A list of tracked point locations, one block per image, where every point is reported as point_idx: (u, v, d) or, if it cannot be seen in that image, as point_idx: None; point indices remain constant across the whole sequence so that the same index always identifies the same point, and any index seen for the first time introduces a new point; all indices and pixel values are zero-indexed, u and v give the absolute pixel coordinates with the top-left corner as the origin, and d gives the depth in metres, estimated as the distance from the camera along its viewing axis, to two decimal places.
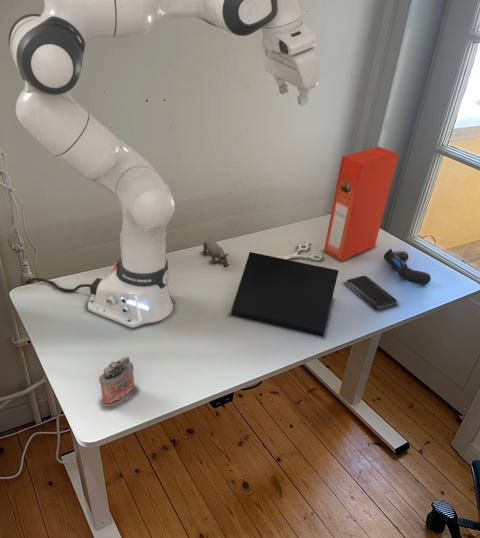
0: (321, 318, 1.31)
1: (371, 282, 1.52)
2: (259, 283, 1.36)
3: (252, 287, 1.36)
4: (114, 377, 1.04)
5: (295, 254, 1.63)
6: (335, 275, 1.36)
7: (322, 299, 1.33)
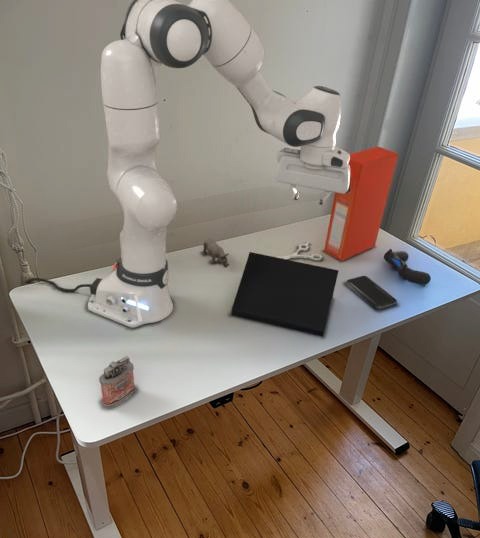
0: (321, 318, 1.31)
1: (371, 282, 1.52)
2: (259, 283, 1.36)
3: (252, 287, 1.36)
4: (114, 377, 1.04)
5: (295, 254, 1.63)
6: (335, 275, 1.36)
7: (322, 299, 1.33)
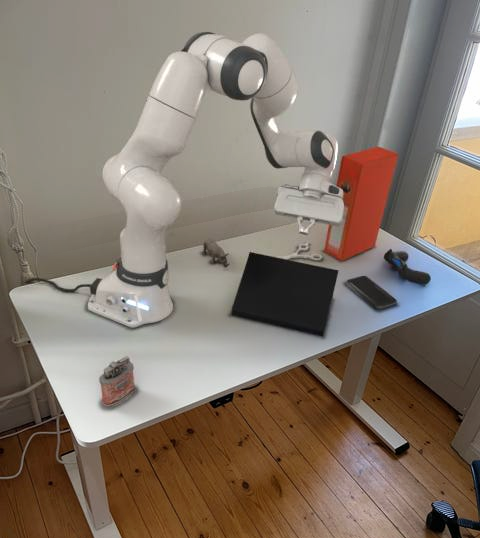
0: (321, 318, 1.31)
1: (371, 282, 1.52)
2: (259, 283, 1.36)
3: (252, 287, 1.36)
4: (114, 377, 1.04)
5: (295, 254, 1.63)
6: (335, 275, 1.36)
7: (322, 299, 1.33)
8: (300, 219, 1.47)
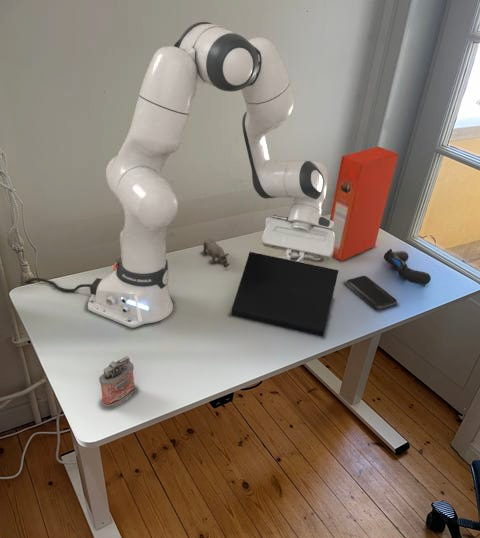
0: (321, 318, 1.31)
1: (371, 282, 1.52)
2: (259, 283, 1.36)
3: (252, 287, 1.36)
4: (114, 377, 1.04)
5: (295, 254, 1.63)
6: (335, 275, 1.36)
7: (322, 299, 1.33)
8: (289, 252, 1.39)
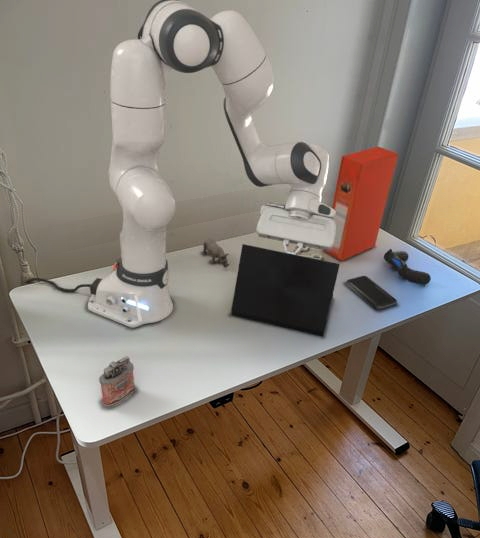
0: (320, 320, 1.29)
1: (371, 282, 1.52)
2: (256, 282, 1.30)
3: (249, 287, 1.31)
4: (114, 377, 1.04)
5: None
6: (336, 270, 1.25)
7: (321, 299, 1.28)
8: (286, 243, 1.28)
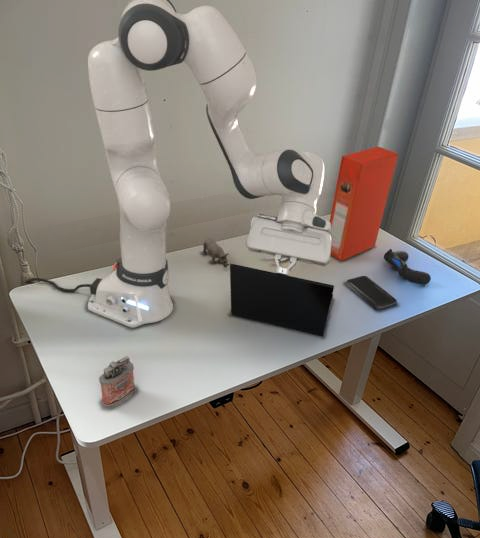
0: (319, 325, 1.28)
1: (371, 282, 1.52)
2: (250, 295, 1.26)
3: (244, 297, 1.28)
4: (114, 377, 1.04)
5: None
6: (330, 292, 1.17)
7: (318, 311, 1.24)
8: (278, 258, 1.19)
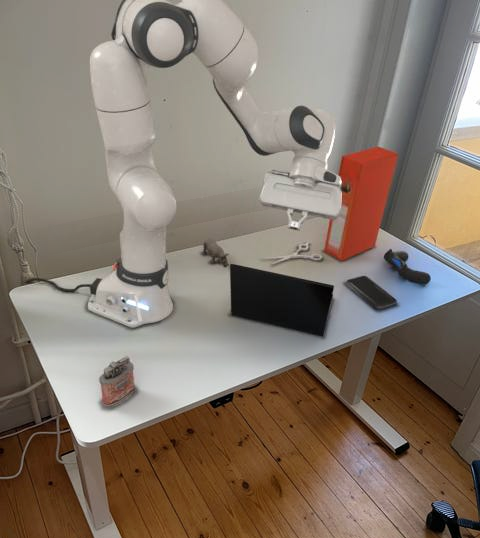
0: (319, 325, 1.28)
1: (371, 282, 1.52)
2: (250, 295, 1.26)
3: (244, 297, 1.28)
4: (114, 377, 1.04)
5: (295, 254, 1.63)
6: (330, 292, 1.17)
7: (318, 311, 1.24)
8: (290, 212, 1.25)
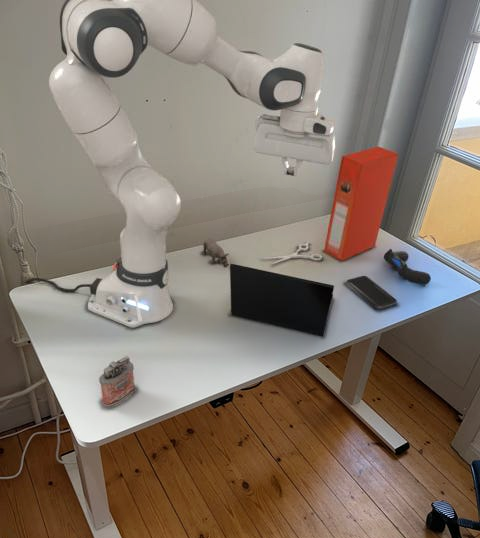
0: (319, 325, 1.28)
1: (371, 282, 1.52)
2: (250, 295, 1.26)
3: (244, 297, 1.28)
4: (114, 377, 1.04)
5: (295, 254, 1.63)
6: (330, 292, 1.17)
7: (318, 311, 1.24)
8: (285, 160, 1.28)
